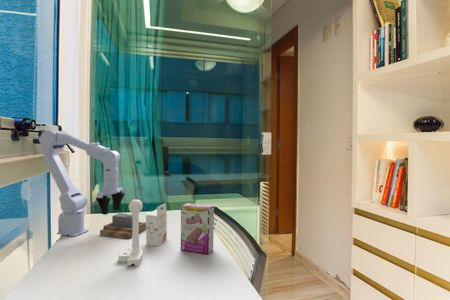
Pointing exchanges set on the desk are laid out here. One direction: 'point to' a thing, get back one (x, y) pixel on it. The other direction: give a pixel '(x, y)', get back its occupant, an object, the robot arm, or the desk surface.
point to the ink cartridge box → (156, 226)
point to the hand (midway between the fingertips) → (110, 212)
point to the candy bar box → (197, 228)
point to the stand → (120, 230)
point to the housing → (122, 220)
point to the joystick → (133, 237)
